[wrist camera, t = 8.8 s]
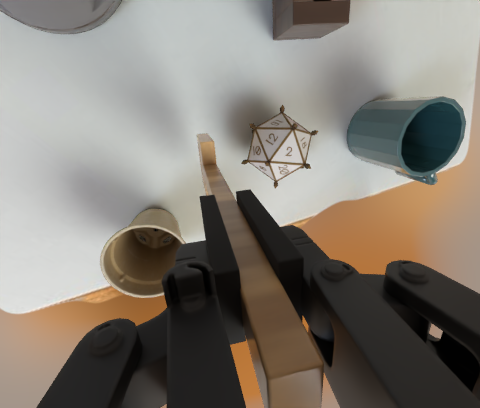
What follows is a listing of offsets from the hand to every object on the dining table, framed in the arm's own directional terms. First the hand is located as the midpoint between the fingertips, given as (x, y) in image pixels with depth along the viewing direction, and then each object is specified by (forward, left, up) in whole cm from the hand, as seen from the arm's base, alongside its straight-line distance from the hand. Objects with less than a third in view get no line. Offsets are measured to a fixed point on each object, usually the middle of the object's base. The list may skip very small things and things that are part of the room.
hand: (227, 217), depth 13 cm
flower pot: (-8, -10, -22) cm, 25 cm away
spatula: (0, 0, -17) cm, 17 cm away
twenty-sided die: (+9, 0, -22) cm, 23 cm away
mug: (+26, -1, -21) cm, 34 cm away
